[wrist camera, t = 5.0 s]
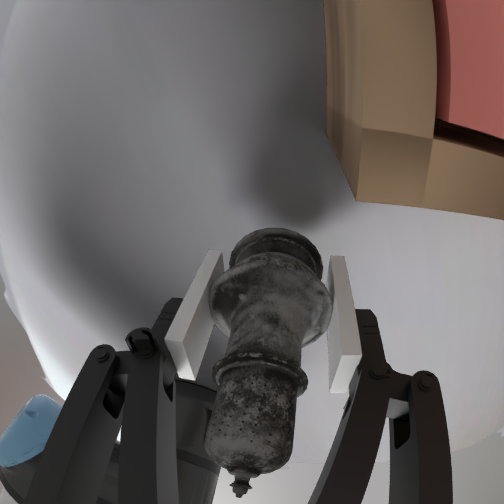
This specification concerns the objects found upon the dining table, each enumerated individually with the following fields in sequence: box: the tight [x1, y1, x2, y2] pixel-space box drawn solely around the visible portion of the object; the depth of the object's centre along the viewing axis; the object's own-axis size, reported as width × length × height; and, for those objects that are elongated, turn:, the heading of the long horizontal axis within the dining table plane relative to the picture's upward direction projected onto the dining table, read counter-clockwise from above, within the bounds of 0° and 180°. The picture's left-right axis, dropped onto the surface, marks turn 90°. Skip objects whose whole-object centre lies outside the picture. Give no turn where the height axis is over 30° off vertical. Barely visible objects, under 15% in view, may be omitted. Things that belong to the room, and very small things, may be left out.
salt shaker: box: [205, 228, 333, 498], centre depth 11 cm, size 6×6×12 cm
